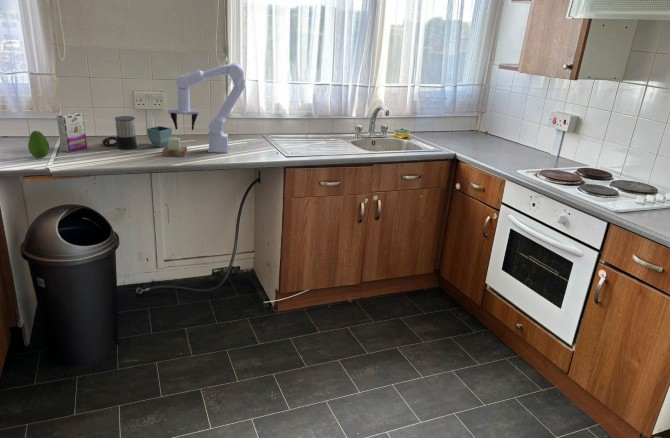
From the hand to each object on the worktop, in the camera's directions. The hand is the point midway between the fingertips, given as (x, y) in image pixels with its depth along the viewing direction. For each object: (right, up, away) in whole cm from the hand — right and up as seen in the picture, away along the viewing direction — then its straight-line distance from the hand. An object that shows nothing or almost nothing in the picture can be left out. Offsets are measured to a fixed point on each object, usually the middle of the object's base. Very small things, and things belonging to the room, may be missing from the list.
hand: (184, 129), depth 248 cm
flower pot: (-14, -7, +7) cm, 18 cm away
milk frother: (-32, -9, 0) cm, 33 cm away
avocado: (-55, -17, -26) cm, 64 cm away
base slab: (-3, -13, -4) cm, 14 cm away
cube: (-3, -10, -5) cm, 12 cm away
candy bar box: (-49, -12, -10) cm, 51 cm away
